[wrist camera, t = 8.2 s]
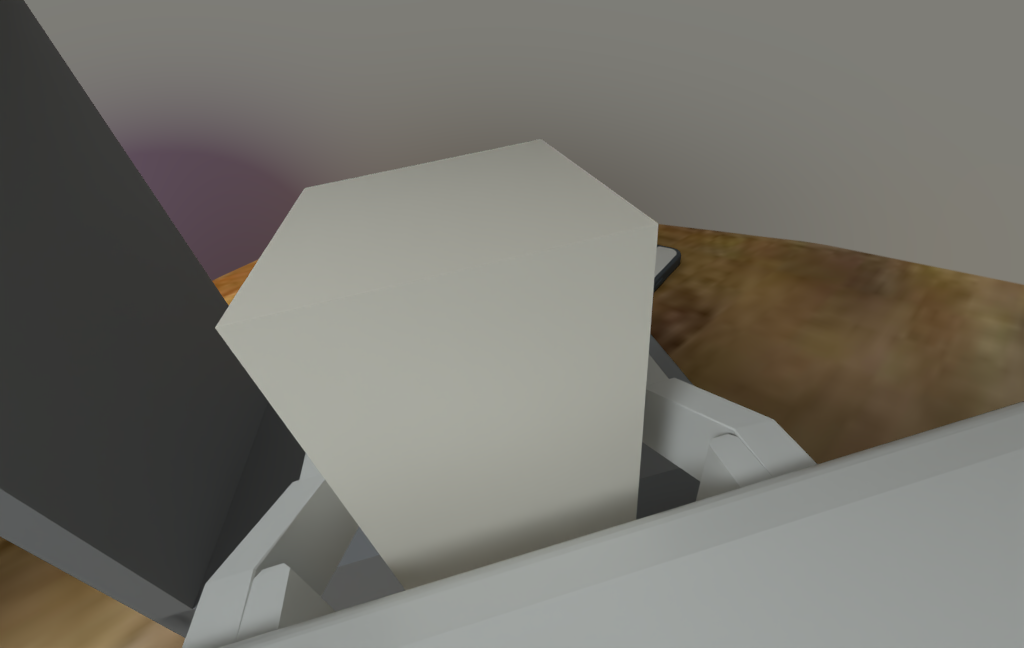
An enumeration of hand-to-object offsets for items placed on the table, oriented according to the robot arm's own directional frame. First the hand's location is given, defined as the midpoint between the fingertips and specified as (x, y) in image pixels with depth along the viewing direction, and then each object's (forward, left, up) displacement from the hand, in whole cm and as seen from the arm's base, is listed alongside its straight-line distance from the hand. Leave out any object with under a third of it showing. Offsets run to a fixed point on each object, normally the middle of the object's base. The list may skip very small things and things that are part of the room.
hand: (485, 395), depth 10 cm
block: (0, -1, -7) cm, 7 cm away
